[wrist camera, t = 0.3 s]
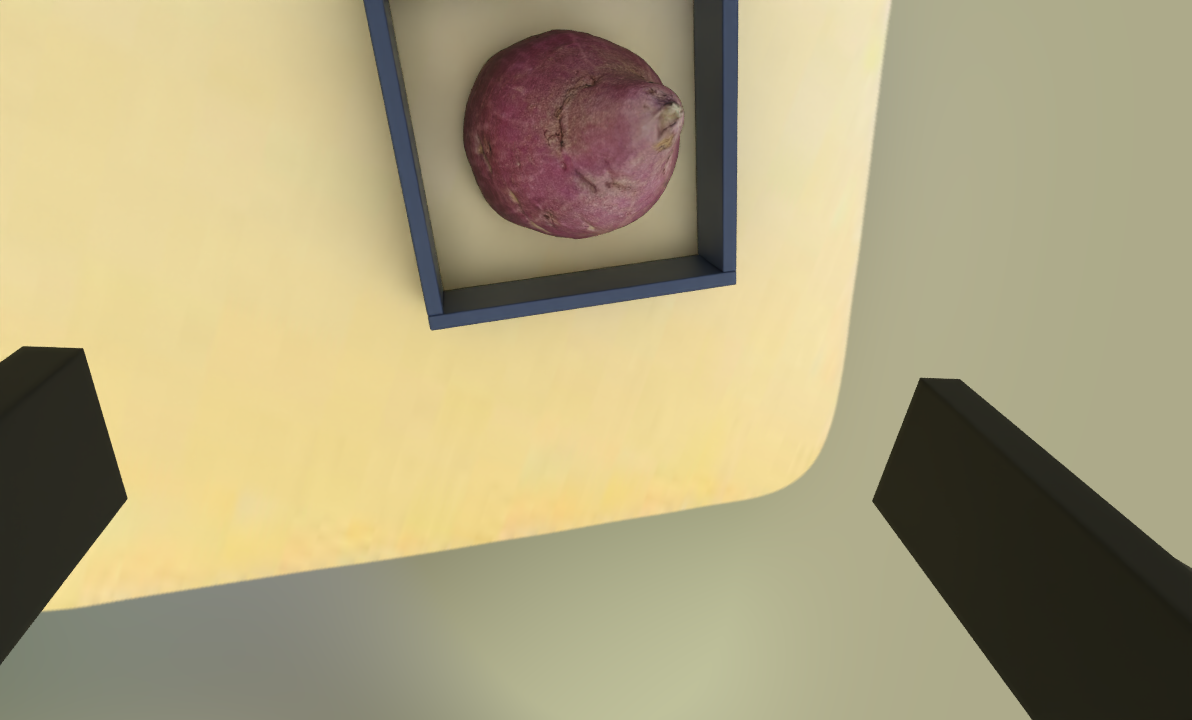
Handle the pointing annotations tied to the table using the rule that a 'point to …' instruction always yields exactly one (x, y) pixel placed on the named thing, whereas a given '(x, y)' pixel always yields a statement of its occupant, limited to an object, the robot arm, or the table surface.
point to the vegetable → (571, 134)
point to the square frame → (599, 285)
